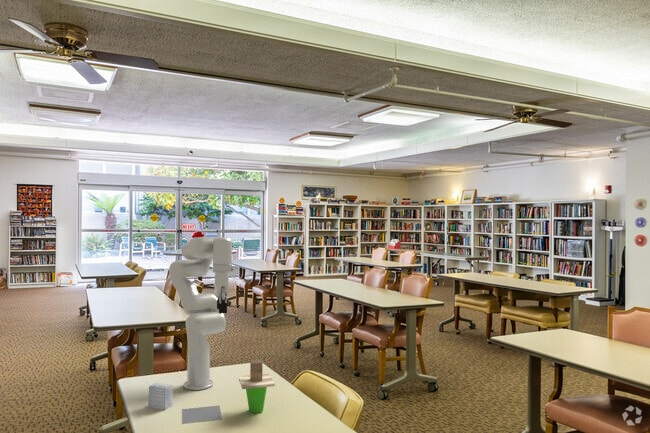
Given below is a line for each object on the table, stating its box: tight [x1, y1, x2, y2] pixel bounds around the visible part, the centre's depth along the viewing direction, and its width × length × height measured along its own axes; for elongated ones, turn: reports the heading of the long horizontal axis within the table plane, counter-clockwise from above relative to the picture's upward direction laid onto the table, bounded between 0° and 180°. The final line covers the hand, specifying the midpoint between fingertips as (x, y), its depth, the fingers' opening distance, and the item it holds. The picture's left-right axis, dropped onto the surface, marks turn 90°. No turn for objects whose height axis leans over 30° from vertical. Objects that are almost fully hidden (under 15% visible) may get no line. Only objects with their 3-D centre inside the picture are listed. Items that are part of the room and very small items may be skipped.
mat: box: [181, 405, 223, 425], centre depth 179 cm, size 14×14×1 cm
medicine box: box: [148, 382, 173, 411], centre depth 187 cm, size 8×4×9 cm, turn 71°
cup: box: [245, 387, 268, 414], centre depth 183 cm, size 9×9×11 cm
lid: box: [238, 359, 276, 390], centre depth 183 cm, size 12×12×8 cm
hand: (221, 311), depth 194 cm, fingers open, 9 cm apart
